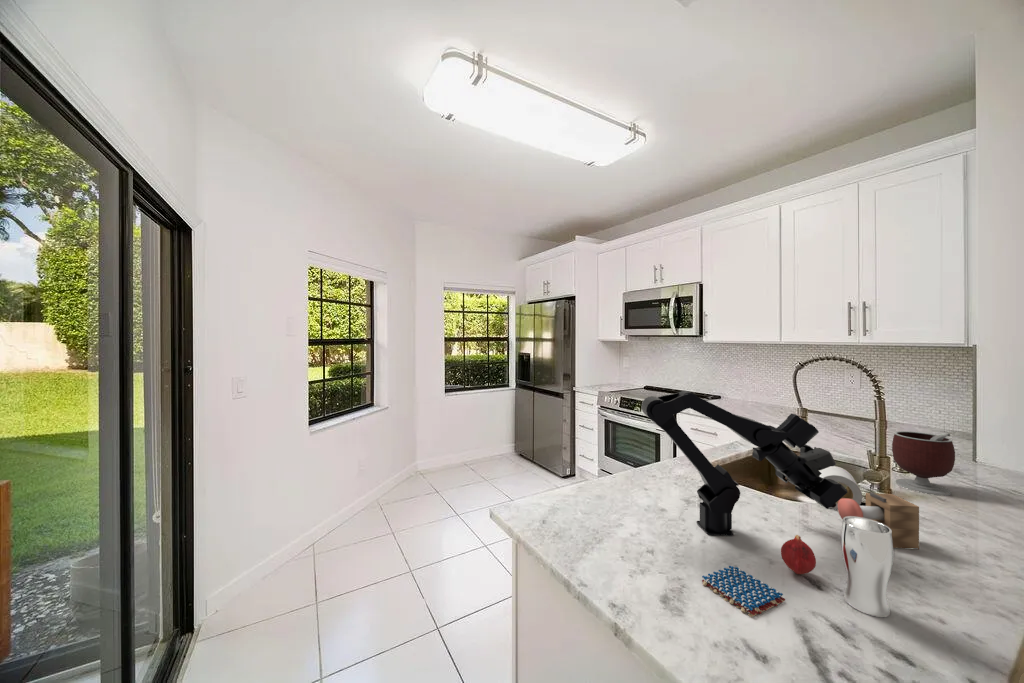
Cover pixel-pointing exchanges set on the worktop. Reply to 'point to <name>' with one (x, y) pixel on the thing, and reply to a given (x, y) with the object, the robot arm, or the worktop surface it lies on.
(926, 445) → the mate gourd
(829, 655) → the worktop surface
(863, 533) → the beer glass
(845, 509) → the knob
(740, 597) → the woven mat
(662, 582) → the worktop surface
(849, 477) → the toilet paper
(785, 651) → the worktop surface
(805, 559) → the onion
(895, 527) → the catch block
